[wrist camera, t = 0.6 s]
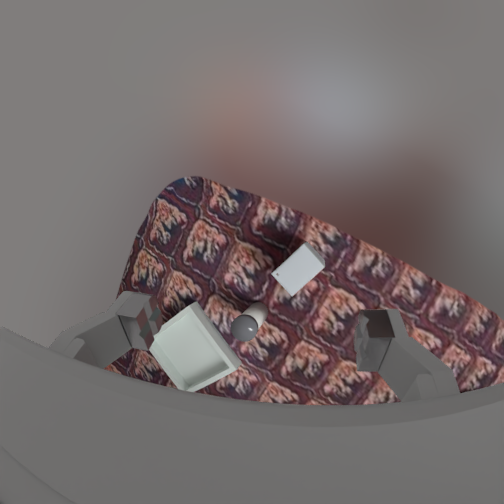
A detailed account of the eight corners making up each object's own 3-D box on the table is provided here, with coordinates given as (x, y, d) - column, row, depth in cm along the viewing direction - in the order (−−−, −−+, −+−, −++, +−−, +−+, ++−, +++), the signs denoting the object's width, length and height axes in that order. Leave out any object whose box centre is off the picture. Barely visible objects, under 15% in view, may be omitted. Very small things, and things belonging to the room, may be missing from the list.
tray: (241, 362, 63) (236, 369, 59) (191, 389, 67) (184, 396, 63) (196, 301, 64) (188, 305, 61) (151, 335, 69) (142, 340, 65)
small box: (297, 286, 58) (291, 298, 48) (279, 266, 59) (269, 274, 49) (325, 260, 56) (326, 267, 46) (307, 240, 57) (303, 242, 47)
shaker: (273, 314, 60) (261, 333, 49) (256, 326, 61) (241, 345, 50) (260, 297, 60) (245, 311, 49) (243, 308, 62) (225, 325, 50)
